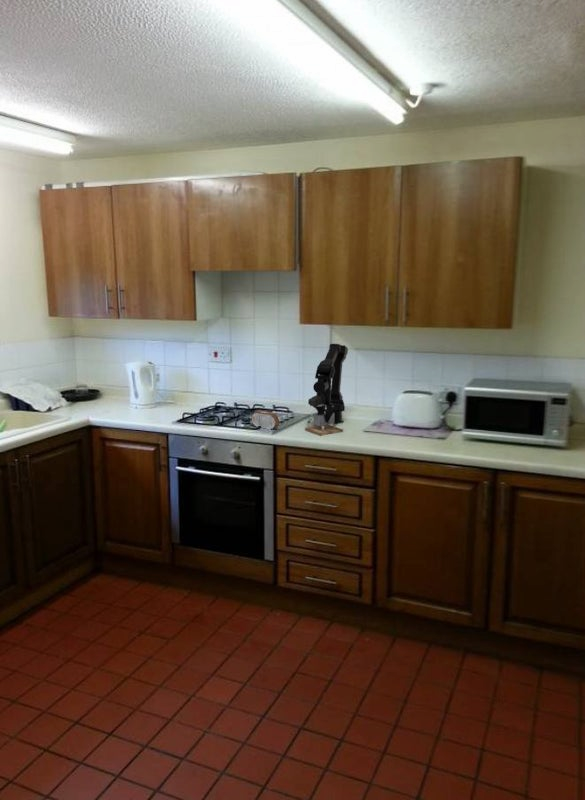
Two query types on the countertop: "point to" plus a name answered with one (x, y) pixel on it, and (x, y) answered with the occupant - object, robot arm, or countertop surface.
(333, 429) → the pin tray
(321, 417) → the drive
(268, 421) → the tin
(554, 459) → the countertop surface
